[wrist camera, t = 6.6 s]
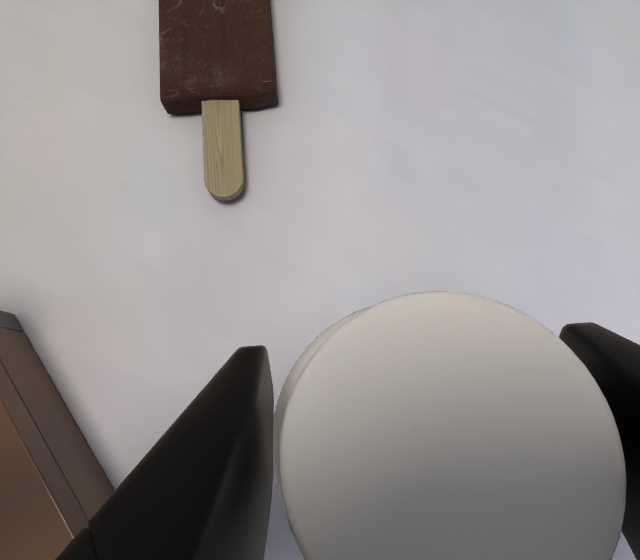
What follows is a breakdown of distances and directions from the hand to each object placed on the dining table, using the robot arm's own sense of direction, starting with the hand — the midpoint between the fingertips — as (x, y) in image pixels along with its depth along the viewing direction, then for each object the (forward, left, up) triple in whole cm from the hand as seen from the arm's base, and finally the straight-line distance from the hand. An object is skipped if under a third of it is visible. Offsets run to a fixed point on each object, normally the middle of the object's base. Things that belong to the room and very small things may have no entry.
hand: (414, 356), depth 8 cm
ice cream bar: (+16, -5, -13) cm, 22 cm away
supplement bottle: (-1, +1, -7) cm, 7 cm away
